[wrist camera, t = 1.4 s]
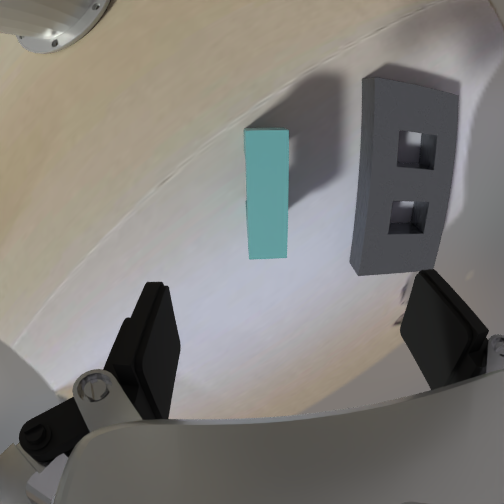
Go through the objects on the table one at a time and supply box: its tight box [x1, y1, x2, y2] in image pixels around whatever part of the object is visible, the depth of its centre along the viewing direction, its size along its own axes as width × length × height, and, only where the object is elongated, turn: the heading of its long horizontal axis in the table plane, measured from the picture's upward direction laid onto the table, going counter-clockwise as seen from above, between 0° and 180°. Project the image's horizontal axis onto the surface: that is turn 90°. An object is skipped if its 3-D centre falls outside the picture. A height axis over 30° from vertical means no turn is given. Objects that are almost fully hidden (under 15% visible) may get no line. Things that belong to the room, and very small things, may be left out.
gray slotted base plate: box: [350, 77, 458, 276], centre depth 28 cm, size 20×10×3 cm, turn 1°
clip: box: [244, 128, 289, 259], centre depth 26 cm, size 10×3×8 cm, turn 1°
